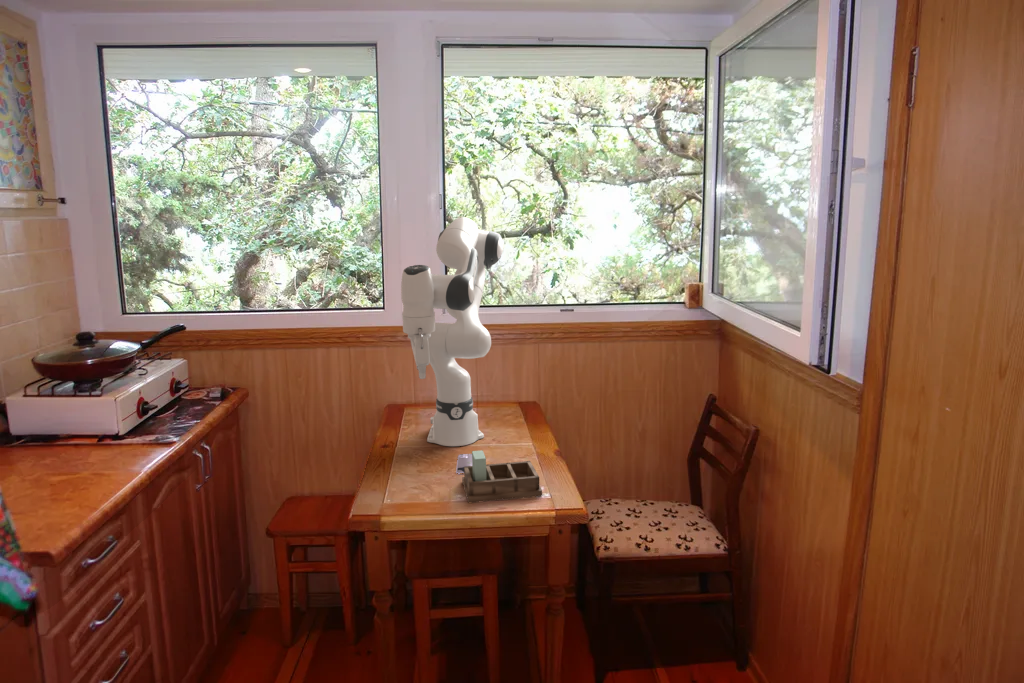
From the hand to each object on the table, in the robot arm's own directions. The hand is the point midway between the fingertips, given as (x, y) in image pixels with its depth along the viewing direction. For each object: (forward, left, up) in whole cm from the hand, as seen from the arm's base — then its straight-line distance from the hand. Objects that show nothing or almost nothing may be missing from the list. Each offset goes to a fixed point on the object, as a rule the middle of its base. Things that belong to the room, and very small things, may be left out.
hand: (421, 373), depth 199 cm
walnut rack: (+12, +20, -31) cm, 39 cm away
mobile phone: (-8, +14, -32) cm, 35 cm away
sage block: (+12, +14, -30) cm, 35 cm away
